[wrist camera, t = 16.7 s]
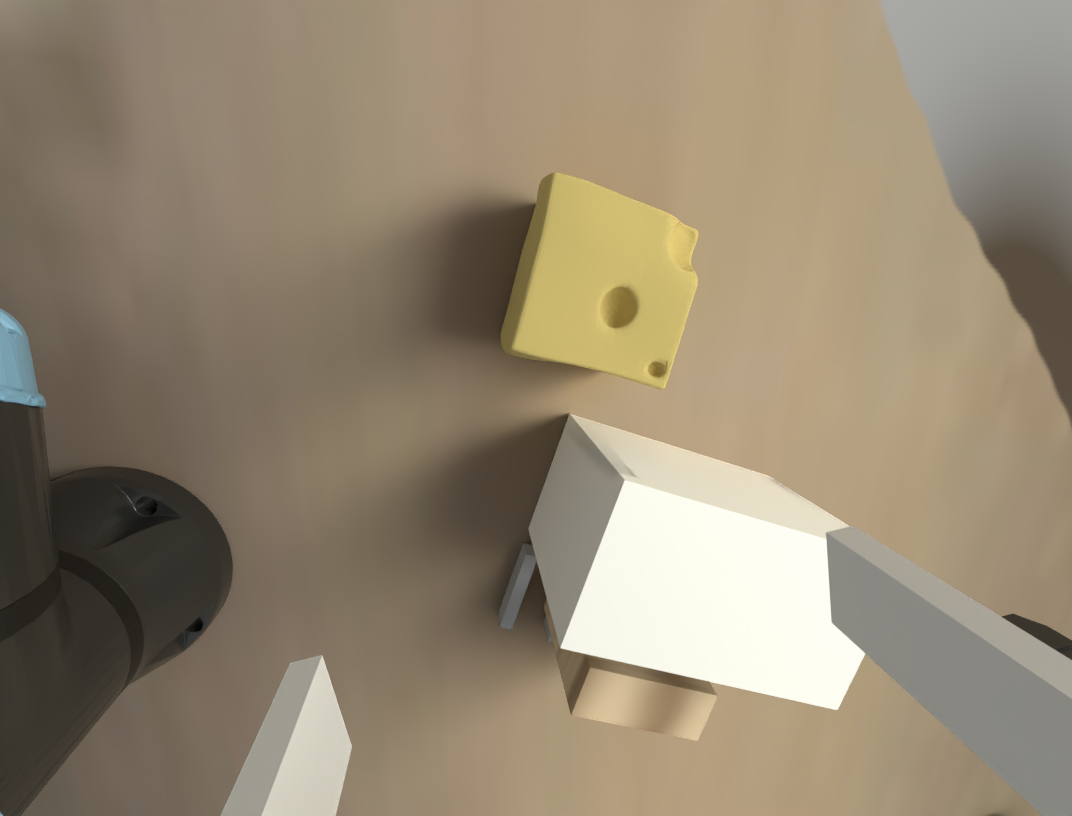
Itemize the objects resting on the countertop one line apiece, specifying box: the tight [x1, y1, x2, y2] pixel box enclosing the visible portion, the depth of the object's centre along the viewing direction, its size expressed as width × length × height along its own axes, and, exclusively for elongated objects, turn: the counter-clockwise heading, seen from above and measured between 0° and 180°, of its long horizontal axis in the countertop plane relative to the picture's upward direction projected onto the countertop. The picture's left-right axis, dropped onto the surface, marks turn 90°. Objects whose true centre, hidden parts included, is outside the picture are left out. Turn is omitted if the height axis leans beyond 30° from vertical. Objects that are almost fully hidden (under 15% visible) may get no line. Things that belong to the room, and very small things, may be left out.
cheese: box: [500, 172, 698, 389], centre depth 36 cm, size 10×11×10 cm
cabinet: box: [498, 414, 865, 710], centre depth 38 cm, size 18×18×15 cm
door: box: [544, 599, 718, 741], centre depth 41 cm, size 9×4×12 cm, turn 71°
